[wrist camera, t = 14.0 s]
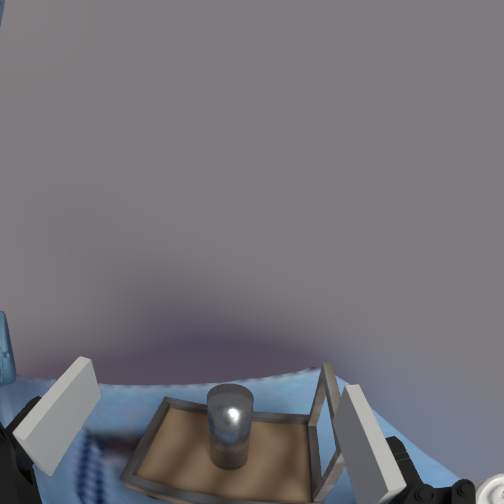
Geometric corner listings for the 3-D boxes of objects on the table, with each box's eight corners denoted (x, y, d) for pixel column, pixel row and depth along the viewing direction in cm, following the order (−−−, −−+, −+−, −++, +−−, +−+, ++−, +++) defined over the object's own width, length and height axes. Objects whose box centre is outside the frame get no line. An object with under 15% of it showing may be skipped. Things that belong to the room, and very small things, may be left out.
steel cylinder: (207, 466, 26) (202, 408, 24) (214, 441, 31) (212, 380, 29) (245, 472, 26) (251, 415, 24) (249, 446, 31) (255, 386, 29)
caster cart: (133, 499, 22) (91, 420, 18) (169, 424, 40) (157, 338, 36) (310, 527, 20) (356, 461, 17) (306, 441, 38) (329, 357, 34)
